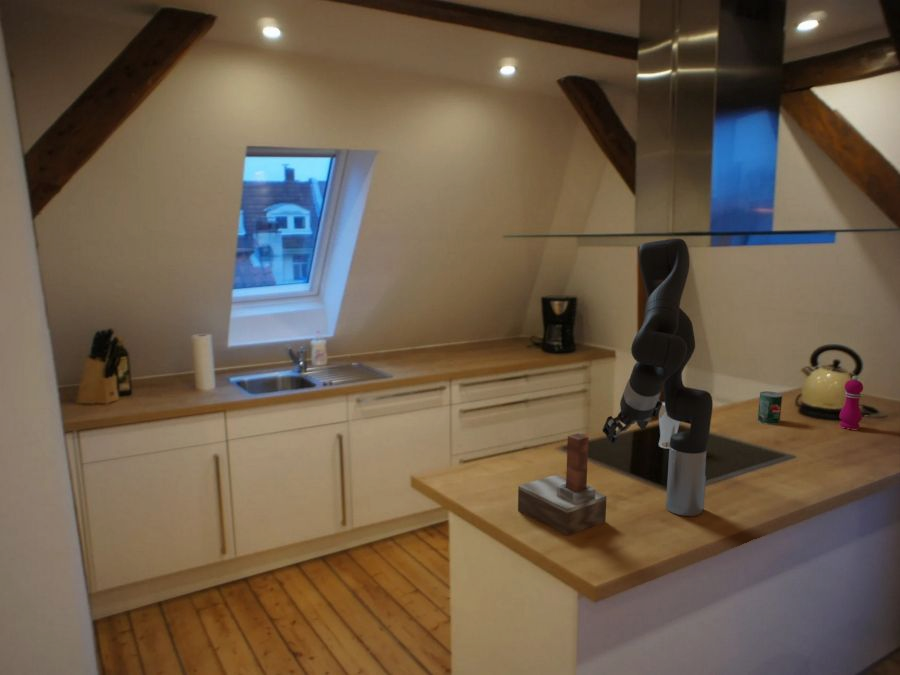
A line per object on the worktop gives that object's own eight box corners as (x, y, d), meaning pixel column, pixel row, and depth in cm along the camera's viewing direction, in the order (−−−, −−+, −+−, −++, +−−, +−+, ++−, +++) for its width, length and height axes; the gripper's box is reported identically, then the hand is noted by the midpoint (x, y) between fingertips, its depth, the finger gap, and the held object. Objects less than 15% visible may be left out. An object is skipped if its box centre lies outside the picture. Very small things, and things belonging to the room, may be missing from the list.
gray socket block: (555, 498, 188) (556, 465, 186) (605, 521, 173) (607, 486, 172) (517, 510, 180) (518, 476, 178) (566, 535, 165) (567, 499, 164)
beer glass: (678, 450, 227) (680, 407, 225) (656, 448, 230) (659, 405, 227) (678, 444, 234) (681, 402, 231) (657, 442, 236) (660, 400, 234)
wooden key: (575, 493, 174) (577, 433, 171) (586, 497, 171) (588, 437, 168) (565, 496, 172) (567, 435, 169) (575, 501, 169) (578, 439, 166)
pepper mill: (833, 425, 257) (839, 374, 253) (851, 424, 257) (857, 373, 254) (847, 431, 250) (852, 378, 246) (865, 430, 250) (871, 378, 247)
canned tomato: (778, 425, 256) (780, 397, 254) (755, 422, 260) (758, 394, 258) (781, 420, 262) (783, 393, 261) (759, 417, 267) (761, 390, 265)
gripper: (656, 371, 153) (640, 410, 166) (604, 394, 149) (592, 433, 162) (677, 396, 149) (659, 434, 161) (624, 420, 145) (610, 457, 157)
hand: (626, 433), depth 161 cm, fingers open, 8 cm apart
